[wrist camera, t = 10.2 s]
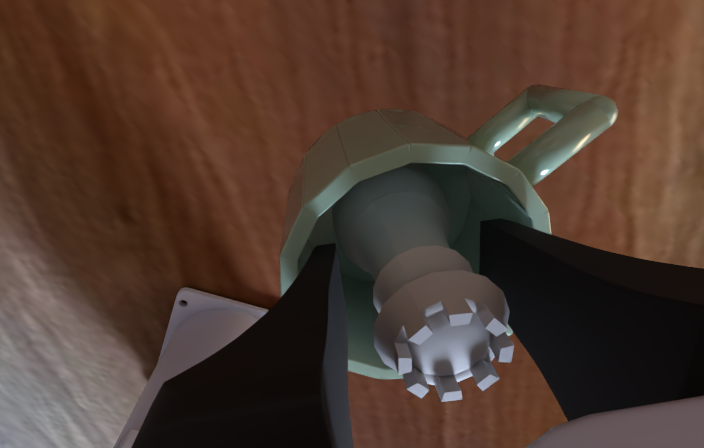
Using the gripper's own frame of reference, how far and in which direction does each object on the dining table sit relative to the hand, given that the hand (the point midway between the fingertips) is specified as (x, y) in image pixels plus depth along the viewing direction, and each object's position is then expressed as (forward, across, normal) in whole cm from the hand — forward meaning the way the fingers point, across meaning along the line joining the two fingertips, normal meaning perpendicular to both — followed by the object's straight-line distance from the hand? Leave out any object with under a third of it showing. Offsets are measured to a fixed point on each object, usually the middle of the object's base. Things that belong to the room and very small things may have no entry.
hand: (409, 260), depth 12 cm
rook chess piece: (+4, 0, 0) cm, 4 cm away
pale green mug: (+4, -1, -1) cm, 4 cm away
